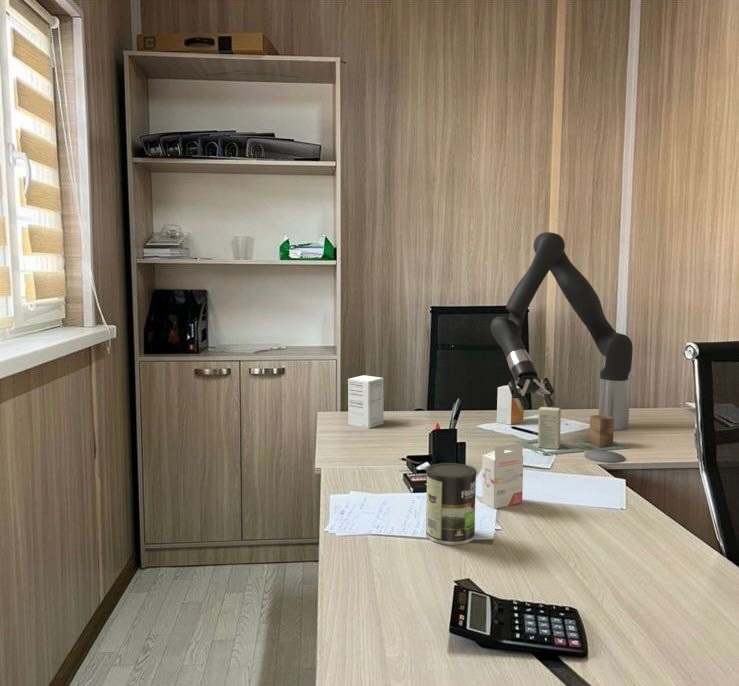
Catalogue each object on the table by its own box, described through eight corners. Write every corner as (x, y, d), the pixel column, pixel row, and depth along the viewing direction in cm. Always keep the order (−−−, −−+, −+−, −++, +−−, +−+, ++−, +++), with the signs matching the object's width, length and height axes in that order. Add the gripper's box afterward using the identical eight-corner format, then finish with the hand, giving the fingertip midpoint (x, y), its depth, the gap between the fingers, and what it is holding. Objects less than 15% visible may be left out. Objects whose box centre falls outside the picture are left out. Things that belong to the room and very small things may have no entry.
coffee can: (482, 532, 141) (484, 467, 140) (462, 549, 133) (464, 480, 131) (438, 522, 147) (439, 459, 145) (416, 538, 138) (417, 471, 136)
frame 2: (604, 439, 219) (604, 437, 219) (629, 448, 208) (629, 447, 208) (573, 442, 215) (573, 440, 215) (596, 451, 204) (596, 450, 204)
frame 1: (553, 439, 219) (553, 437, 219) (583, 451, 204) (583, 450, 204) (515, 442, 214) (515, 441, 214) (543, 455, 199) (543, 454, 199)
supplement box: (363, 420, 245) (363, 374, 243) (384, 423, 240) (384, 377, 238) (347, 425, 237) (347, 378, 235) (368, 429, 232) (368, 380, 230)
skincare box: (560, 446, 210) (561, 407, 208) (558, 449, 206) (559, 410, 204) (539, 444, 212) (540, 406, 211) (537, 447, 208) (538, 408, 207)
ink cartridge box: (509, 497, 163) (511, 437, 162) (522, 503, 159) (524, 442, 157) (480, 502, 159) (482, 442, 158) (493, 509, 155) (495, 447, 153)
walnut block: (602, 442, 215) (603, 414, 214) (612, 446, 210) (614, 418, 209) (589, 443, 213) (590, 415, 212) (599, 447, 208) (600, 419, 207)
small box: (510, 425, 238) (512, 389, 236) (496, 422, 242) (497, 386, 241) (523, 421, 243) (524, 386, 242) (509, 419, 248) (510, 384, 247)
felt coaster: (607, 451, 205) (607, 449, 204) (632, 461, 194) (632, 458, 194) (576, 454, 201) (576, 452, 201) (600, 464, 191) (600, 462, 191)
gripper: (506, 360, 218) (524, 401, 208) (544, 358, 222) (563, 399, 213) (498, 373, 223) (514, 414, 214) (535, 372, 228) (553, 412, 218)
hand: (539, 407), depth 213 cm, fingers open, 8 cm apart
